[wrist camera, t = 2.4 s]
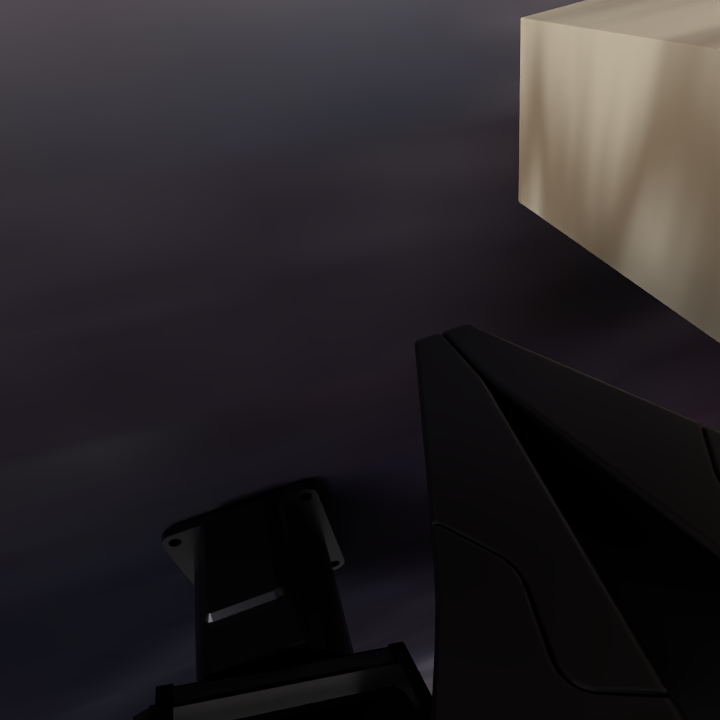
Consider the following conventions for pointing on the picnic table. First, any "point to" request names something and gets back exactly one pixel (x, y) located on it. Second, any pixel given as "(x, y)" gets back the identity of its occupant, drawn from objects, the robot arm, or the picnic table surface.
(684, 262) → the birch block
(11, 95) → the picnic table surface
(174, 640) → the picnic table surface
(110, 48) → the picnic table surface
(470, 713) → the robot arm
